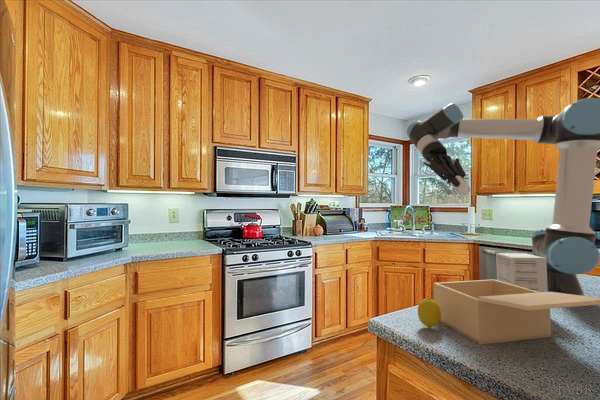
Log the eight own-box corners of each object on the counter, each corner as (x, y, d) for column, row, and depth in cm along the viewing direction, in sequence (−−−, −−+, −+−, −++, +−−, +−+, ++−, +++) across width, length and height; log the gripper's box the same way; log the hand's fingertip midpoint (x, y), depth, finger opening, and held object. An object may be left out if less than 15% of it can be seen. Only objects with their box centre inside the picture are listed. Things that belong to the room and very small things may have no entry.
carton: (494, 313, 85) (493, 279, 86) (551, 336, 70) (549, 295, 70) (434, 318, 82) (433, 282, 82) (479, 344, 66) (478, 300, 66)
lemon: (431, 334, 71) (430, 301, 72) (413, 326, 76) (412, 296, 76) (446, 330, 74) (445, 298, 74) (427, 322, 79) (427, 293, 79)
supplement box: (550, 317, 82) (548, 257, 83) (514, 316, 83) (513, 257, 84) (528, 306, 92) (526, 252, 92) (496, 305, 93) (495, 252, 93)
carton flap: (549, 291, 70) (610, 299, 58) (550, 296, 70) (611, 304, 58) (478, 296, 66) (527, 305, 55) (478, 301, 66) (528, 311, 54)
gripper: (442, 158, 110) (478, 201, 93) (411, 157, 108) (442, 201, 91) (452, 141, 105) (491, 183, 88) (419, 140, 103) (454, 182, 86)
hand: (466, 192), depth 90 cm, fingers closed
